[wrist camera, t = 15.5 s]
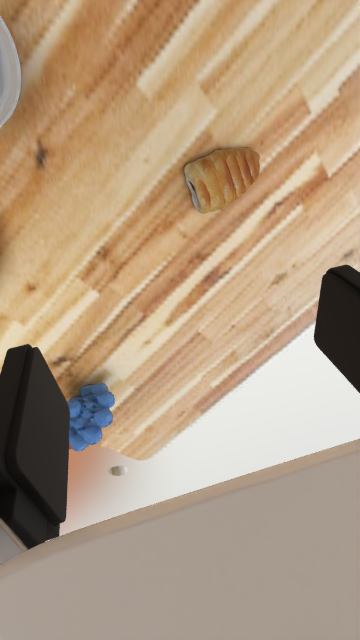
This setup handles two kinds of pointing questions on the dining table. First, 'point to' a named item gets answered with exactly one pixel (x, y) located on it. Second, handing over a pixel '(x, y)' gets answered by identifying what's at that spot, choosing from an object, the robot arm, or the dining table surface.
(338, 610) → the robot arm
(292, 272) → the dining table surface
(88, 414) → the grapes
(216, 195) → the pastry
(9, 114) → the disposable coffee cup
